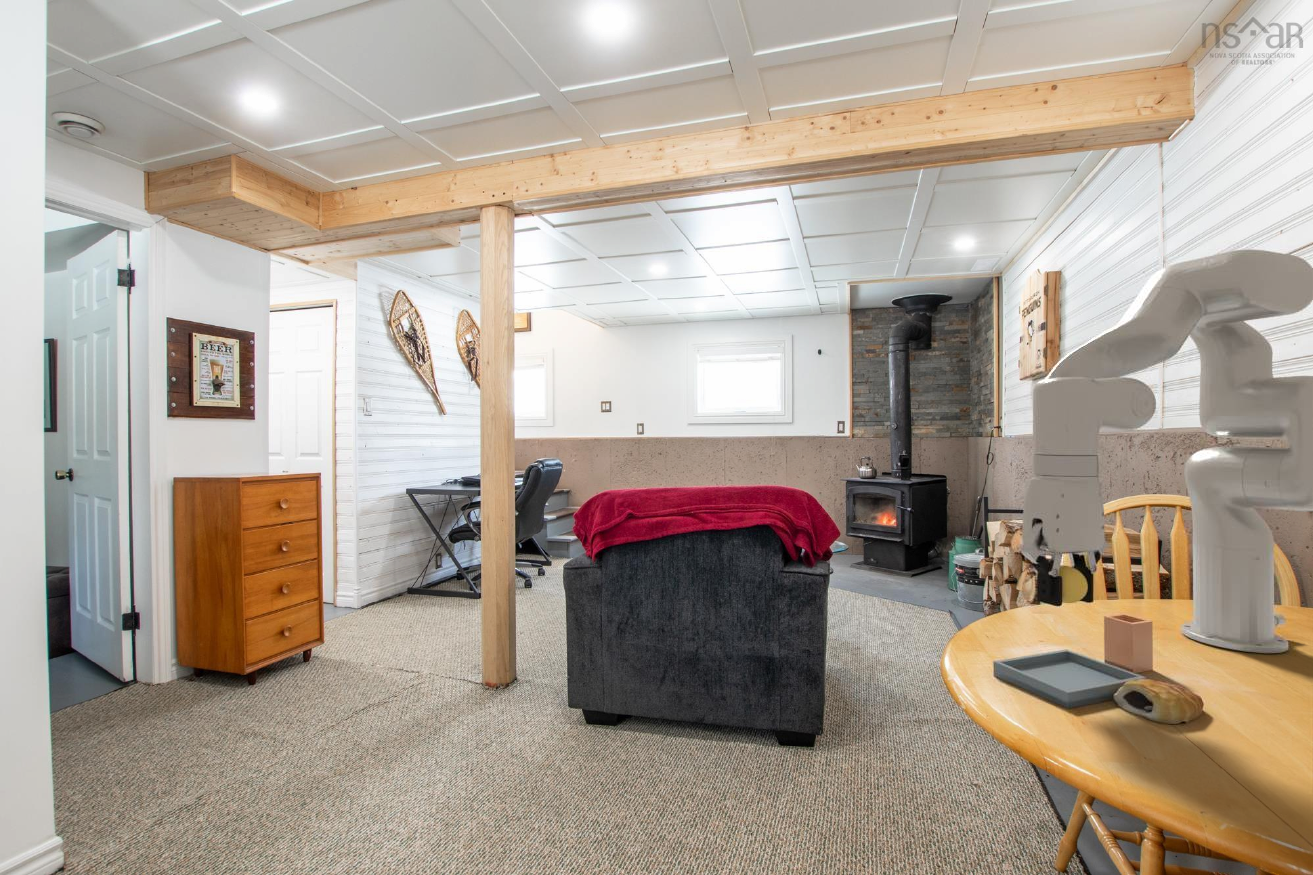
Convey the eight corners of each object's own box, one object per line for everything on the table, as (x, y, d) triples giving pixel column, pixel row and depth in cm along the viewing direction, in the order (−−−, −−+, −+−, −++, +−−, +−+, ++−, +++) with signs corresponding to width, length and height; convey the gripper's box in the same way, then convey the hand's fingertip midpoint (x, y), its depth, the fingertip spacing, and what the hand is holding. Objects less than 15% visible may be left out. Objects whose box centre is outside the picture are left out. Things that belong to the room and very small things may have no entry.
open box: (1123, 659, 90) (1123, 613, 90) (1152, 669, 87) (1152, 621, 86) (1104, 663, 89) (1104, 616, 89) (1133, 673, 85) (1132, 624, 85)
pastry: (1162, 695, 79) (1162, 666, 79) (1223, 719, 72) (1223, 687, 72) (1108, 705, 76) (1108, 675, 76) (1167, 731, 70) (1167, 698, 69)
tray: (1066, 662, 89) (1066, 649, 89) (1146, 692, 79) (1146, 677, 79) (993, 675, 85) (993, 661, 85) (1068, 708, 75) (1067, 692, 75)
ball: (1061, 596, 85) (1061, 561, 85) (1096, 605, 80) (1096, 568, 80) (1034, 599, 83) (1034, 563, 84) (1069, 609, 79) (1069, 570, 79)
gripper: (1083, 466, 88) (1083, 590, 88) (993, 468, 83) (993, 600, 83) (1138, 469, 81) (1138, 604, 81) (1043, 471, 76) (1043, 615, 76)
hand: (1065, 600), depth 82 cm, fingers closed on ball, 4 cm apart
